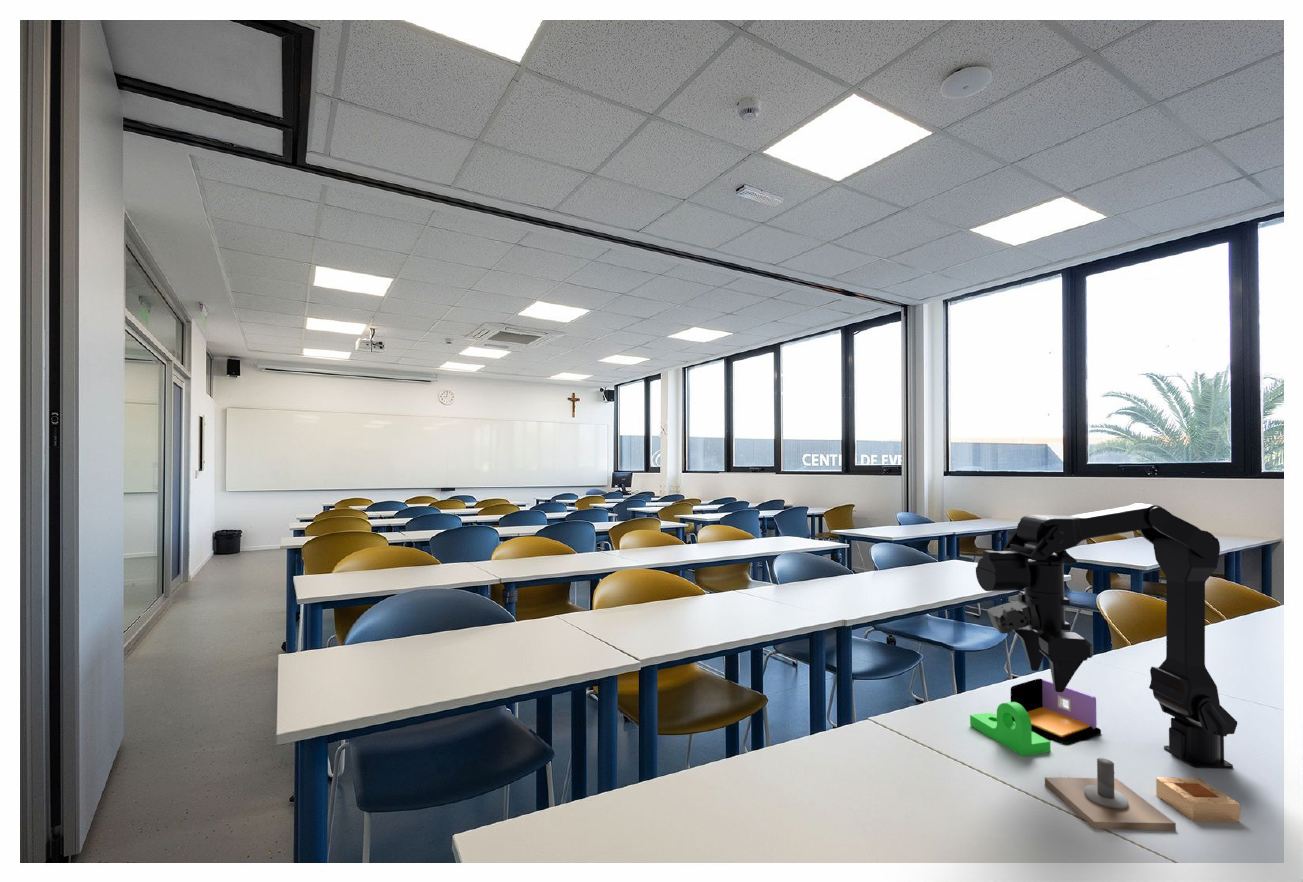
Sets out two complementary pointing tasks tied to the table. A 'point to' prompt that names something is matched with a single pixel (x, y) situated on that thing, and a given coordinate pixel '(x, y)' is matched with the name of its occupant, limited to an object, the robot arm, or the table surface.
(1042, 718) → the toy room diorama
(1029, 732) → the mechanical part
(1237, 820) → the wooden collar
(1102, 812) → the post stand
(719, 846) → the table surface
